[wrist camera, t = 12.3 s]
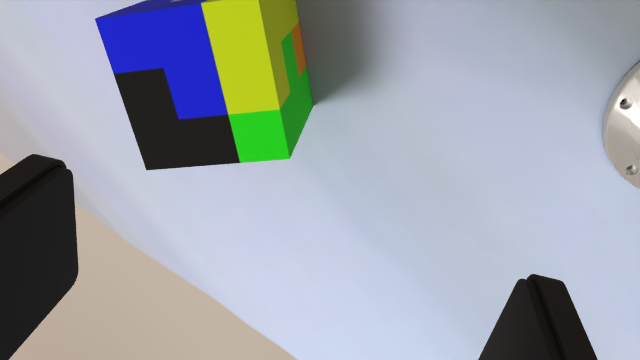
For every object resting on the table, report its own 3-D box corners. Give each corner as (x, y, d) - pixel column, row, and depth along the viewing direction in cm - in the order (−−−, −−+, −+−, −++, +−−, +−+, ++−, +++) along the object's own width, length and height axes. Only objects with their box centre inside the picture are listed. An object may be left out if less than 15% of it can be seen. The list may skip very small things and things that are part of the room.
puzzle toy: (164, -7, 39) (94, 18, 30) (291, -26, 37) (257, -5, 28) (198, 117, 43) (146, 170, 34) (313, 105, 41) (289, 158, 32)
